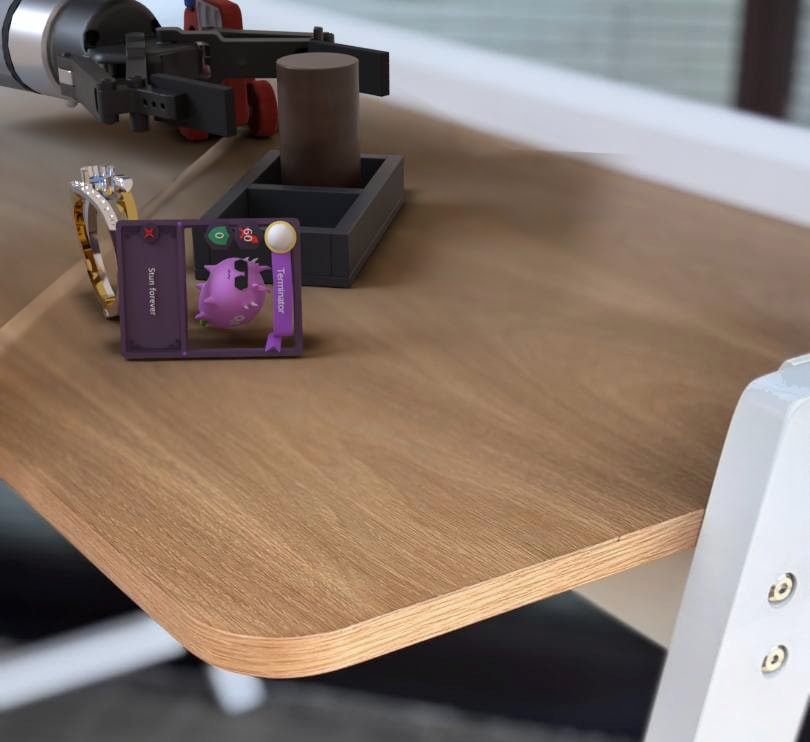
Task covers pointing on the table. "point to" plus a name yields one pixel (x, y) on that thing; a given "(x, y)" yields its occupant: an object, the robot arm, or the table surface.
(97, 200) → the ring
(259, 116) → the toy fire truck
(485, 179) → the table surface
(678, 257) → the table surface
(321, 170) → the brown wooden cylinder
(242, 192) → the grid
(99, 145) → the table surface
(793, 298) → the table surface
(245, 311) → the game card
